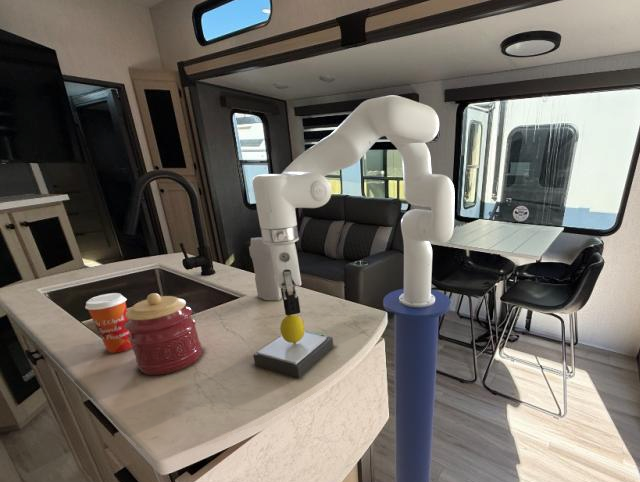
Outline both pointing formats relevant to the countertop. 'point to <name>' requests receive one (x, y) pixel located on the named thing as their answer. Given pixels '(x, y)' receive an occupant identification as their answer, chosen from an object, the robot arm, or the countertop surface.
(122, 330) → the paper cup
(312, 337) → the scale
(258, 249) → the grey stone slab
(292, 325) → the lemon
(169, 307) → the kitchen canister
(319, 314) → the countertop surface
